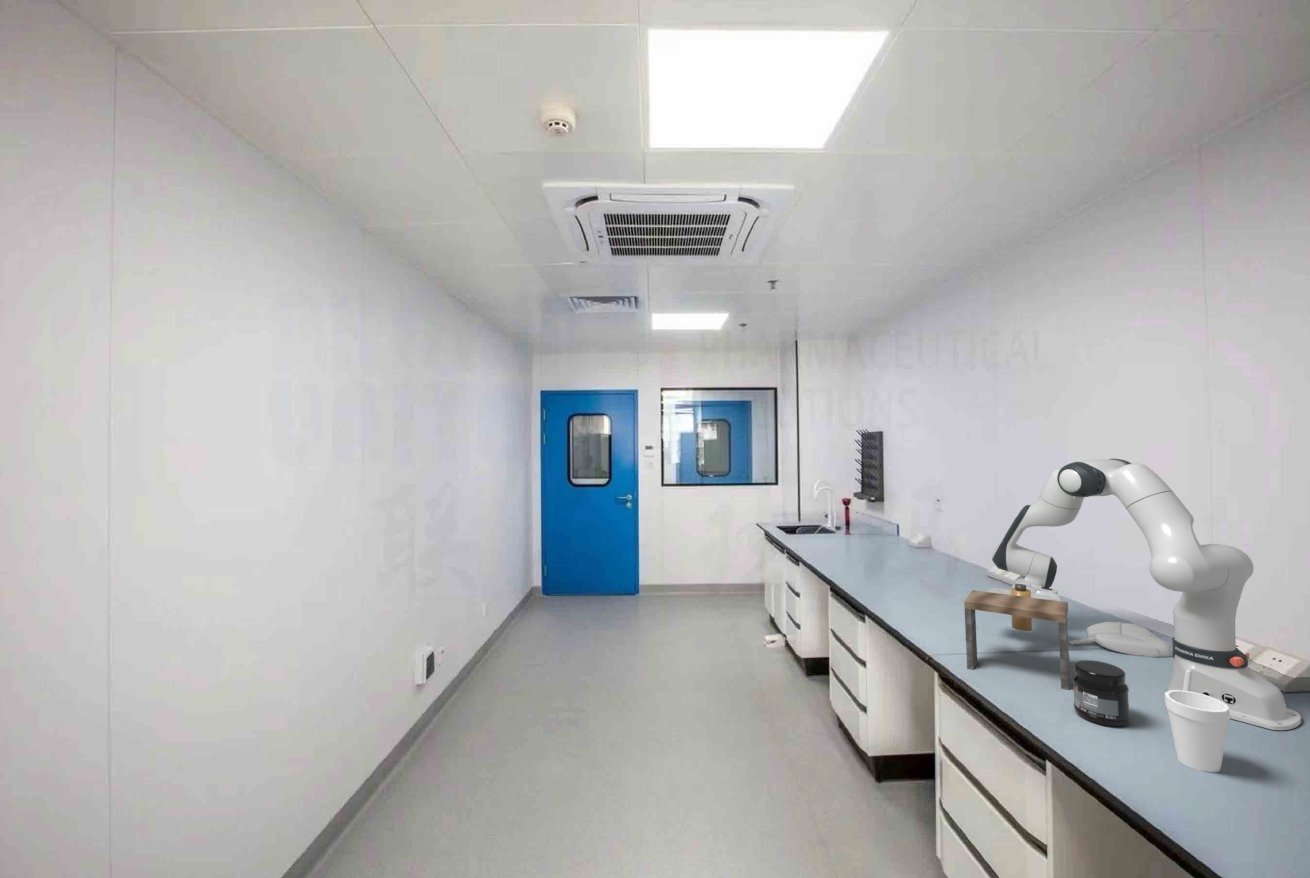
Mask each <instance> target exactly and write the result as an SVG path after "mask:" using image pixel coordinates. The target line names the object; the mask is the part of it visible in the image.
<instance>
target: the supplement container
mask: <svg viewBox="0 0 1310 878" xmlns="http://www.w3.org/2000/svg"><path fill="white" fill-rule="evenodd" d="M1074 672H1075V673H1074V674H1073V675H1072V682H1073V698H1074V699H1073V701H1074V702H1073V708H1074V710H1075V712H1076V714H1077V715H1079V716H1081V718H1082V719H1085V720H1087V721H1088V722H1091V723H1095V724H1097V725H1101V726H1107V727H1123V726H1126V725H1127V724H1129V723H1130V720H1131V719H1130V705H1129V702H1130V701H1129V691H1130V689H1129V686H1128V684H1127V683H1126V672H1125V671H1124V670H1123V669H1122V668H1120V667H1119V666H1116V665H1114V664H1111V663H1107V662H1102V661H1098V660H1090V659H1089V660H1088V659H1087V660H1086V659H1085V660H1077V661H1076V662H1074Z"/></svg>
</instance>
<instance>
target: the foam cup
mask: <svg viewBox="0 0 1310 878" xmlns="http://www.w3.org/2000/svg"><path fill="white" fill-rule="evenodd" d="M1164 704H1165V708H1166V709H1167V713H1168V719H1169V723H1170V728H1171V733H1172V737H1173V742H1174V748H1175V752H1176V755H1177V759H1178V761H1179V762H1181V763H1182V764H1183V765H1185V766H1188V767H1189V768H1192V769H1194V770H1197V771H1198V770H1199V771H1200V772H1208V773H1218V772H1220V771H1221V768H1222V766H1223V765H1222V764H1223V758H1224V751H1225V744H1226V740H1227V731H1228V726H1229V725H1228V724H1229V722H1230V721H1231V718H1230V713H1229V707H1228V706H1227V704H1225V703H1223V702H1222V701H1220V700H1218V699H1216V698H1213V697H1210V696H1207V695H1204V694H1200V693H1196V692H1191V691H1183V690H1169V691H1168V690H1167V691H1166V692H1164Z"/></svg>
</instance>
